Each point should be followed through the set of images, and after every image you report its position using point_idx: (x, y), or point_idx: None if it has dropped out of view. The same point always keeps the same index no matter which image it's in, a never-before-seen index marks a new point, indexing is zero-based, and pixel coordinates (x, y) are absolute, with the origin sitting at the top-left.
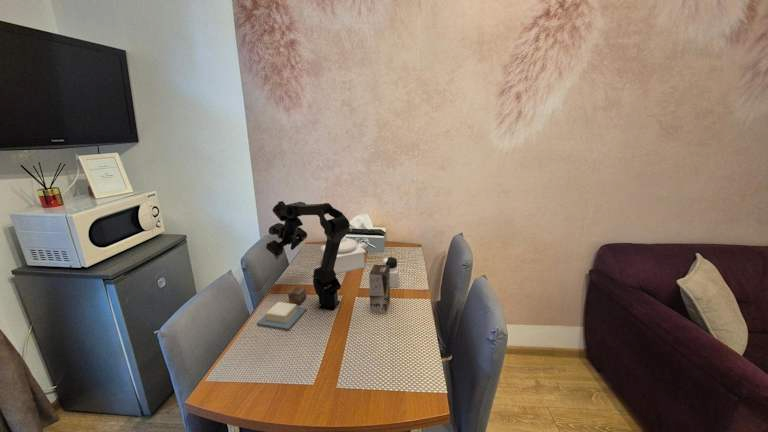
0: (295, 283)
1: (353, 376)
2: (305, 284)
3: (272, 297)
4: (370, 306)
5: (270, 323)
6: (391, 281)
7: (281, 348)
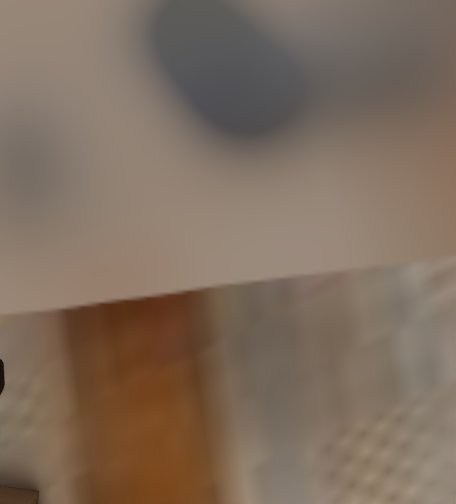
0: (230, 400)
1: None
2: (227, 489)
3: (11, 323)
4: None
5: None
6: None
7: None
